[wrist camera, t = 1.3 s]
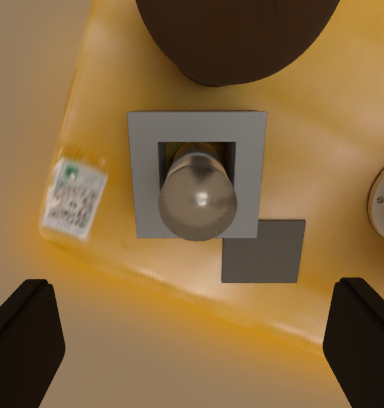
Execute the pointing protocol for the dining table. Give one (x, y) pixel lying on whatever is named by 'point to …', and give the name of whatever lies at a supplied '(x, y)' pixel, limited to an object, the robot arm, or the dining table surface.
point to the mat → (265, 254)
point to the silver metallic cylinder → (197, 194)
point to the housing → (196, 132)
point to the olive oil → (234, 35)
